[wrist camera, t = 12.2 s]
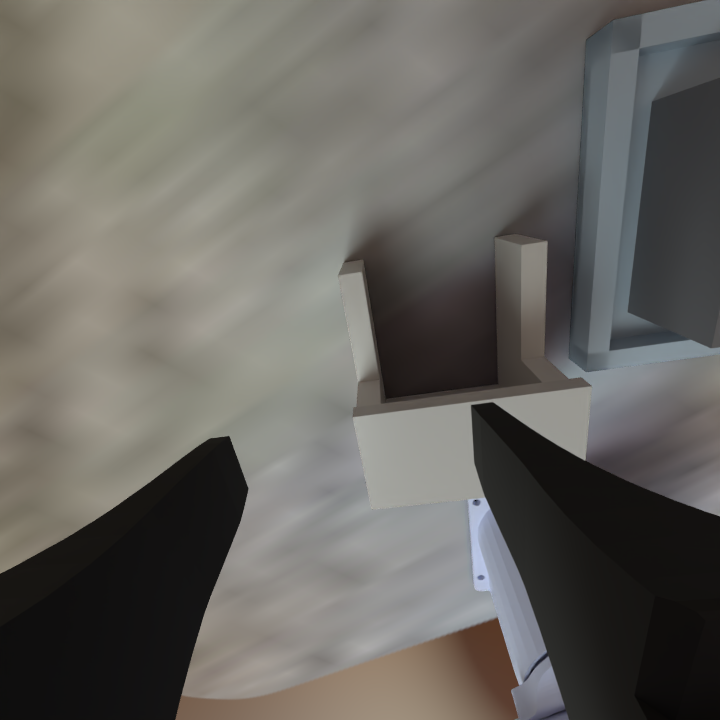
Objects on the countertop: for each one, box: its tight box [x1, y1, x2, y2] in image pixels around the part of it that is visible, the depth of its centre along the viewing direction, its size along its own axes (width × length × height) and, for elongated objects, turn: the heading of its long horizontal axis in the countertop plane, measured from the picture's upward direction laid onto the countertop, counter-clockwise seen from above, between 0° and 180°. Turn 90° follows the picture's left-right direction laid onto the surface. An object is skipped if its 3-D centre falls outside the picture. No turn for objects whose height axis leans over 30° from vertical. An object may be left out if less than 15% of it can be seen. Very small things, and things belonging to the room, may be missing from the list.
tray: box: [569, 0, 720, 372], centre depth 16 cm, size 14×9×2 cm, turn 10°
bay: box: [338, 234, 592, 510], centre depth 17 cm, size 9×8×7 cm
